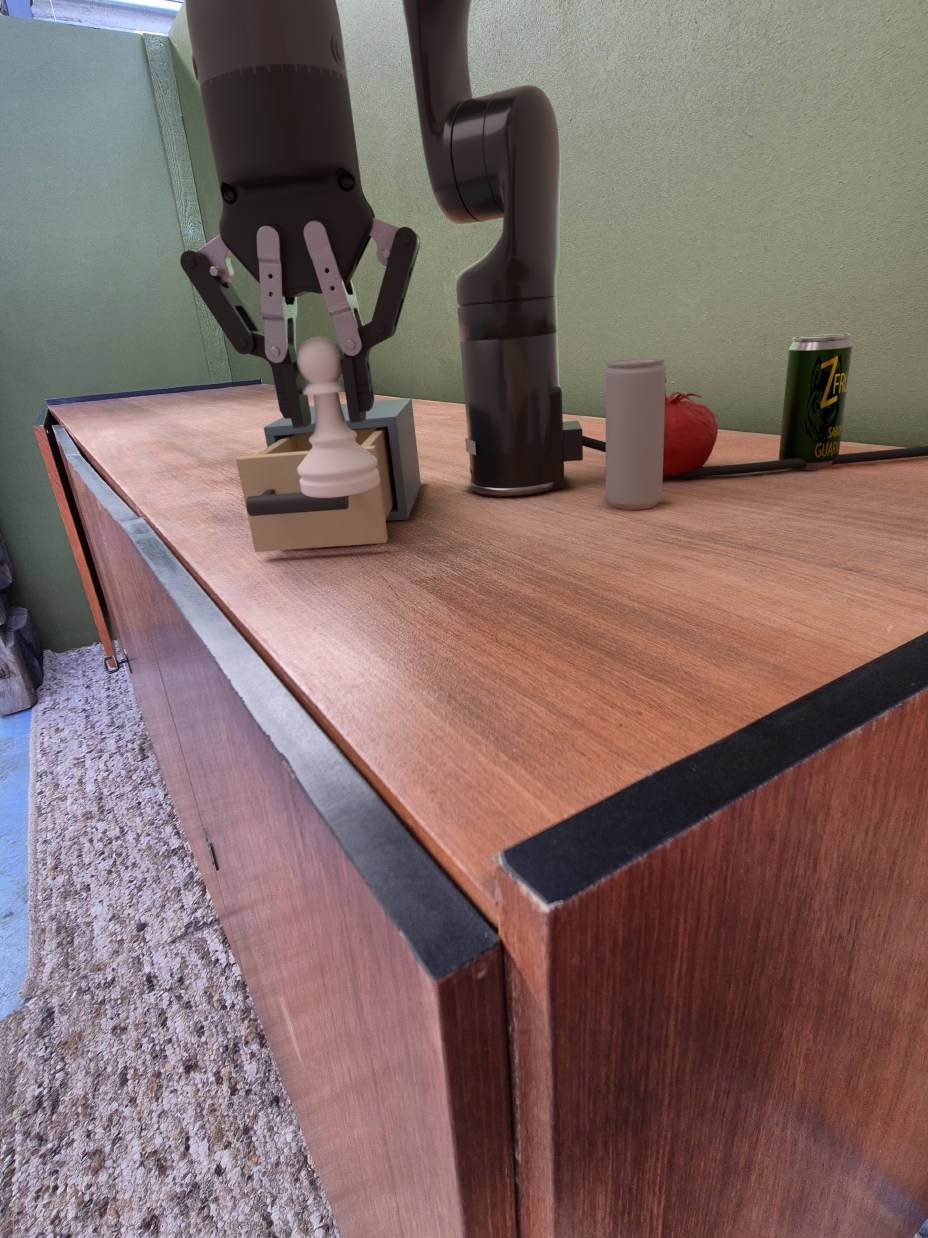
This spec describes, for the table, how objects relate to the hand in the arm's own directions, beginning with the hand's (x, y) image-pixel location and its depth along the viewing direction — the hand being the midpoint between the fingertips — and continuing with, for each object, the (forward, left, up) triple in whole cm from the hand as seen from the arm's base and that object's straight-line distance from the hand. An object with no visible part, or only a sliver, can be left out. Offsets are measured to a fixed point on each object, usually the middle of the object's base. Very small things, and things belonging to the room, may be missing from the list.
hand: (329, 421), depth 44 cm
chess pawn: (0, 0, -4) cm, 4 cm away
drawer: (+4, -12, -10) cm, 17 cm away
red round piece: (-27, -29, -12) cm, 41 cm away
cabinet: (+4, -25, -11) cm, 28 cm away
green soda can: (-41, -28, -12) cm, 51 cm away
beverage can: (-22, -18, -12) cm, 30 cm away
